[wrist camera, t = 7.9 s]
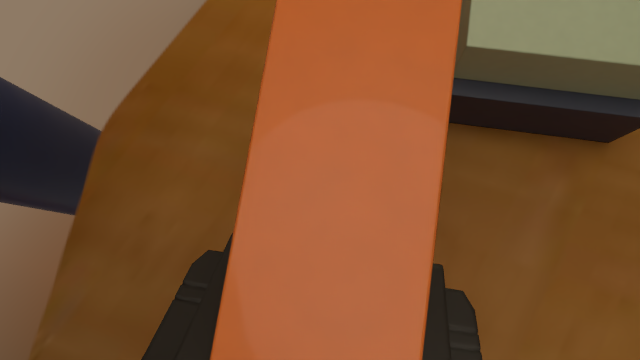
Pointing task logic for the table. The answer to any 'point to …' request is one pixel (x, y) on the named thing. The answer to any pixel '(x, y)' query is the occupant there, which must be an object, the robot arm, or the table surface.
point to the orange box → (342, 184)
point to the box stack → (549, 67)
